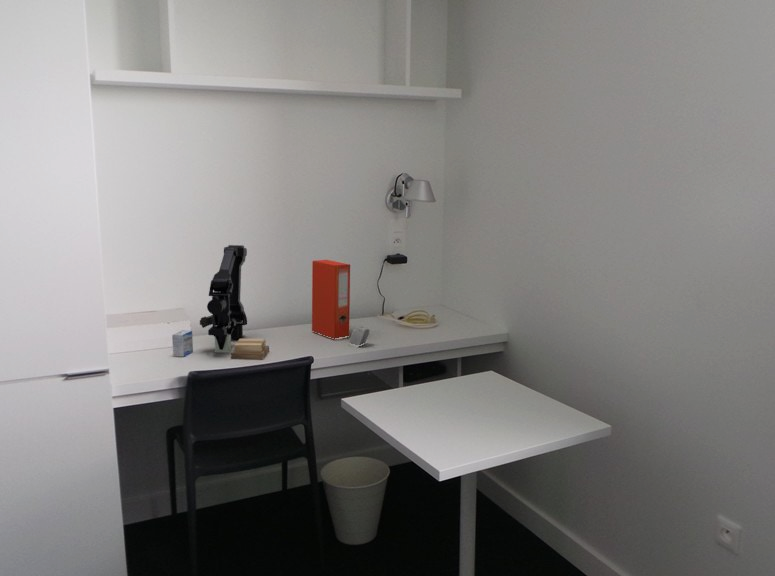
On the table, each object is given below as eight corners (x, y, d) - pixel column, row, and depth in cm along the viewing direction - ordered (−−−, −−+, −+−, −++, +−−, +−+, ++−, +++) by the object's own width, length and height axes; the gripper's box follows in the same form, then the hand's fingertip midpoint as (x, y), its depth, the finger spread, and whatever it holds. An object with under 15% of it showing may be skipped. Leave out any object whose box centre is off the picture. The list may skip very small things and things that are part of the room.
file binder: (327, 330, 309) (327, 259, 304) (349, 337, 296) (350, 264, 290) (311, 332, 304) (311, 260, 299) (334, 340, 291) (334, 265, 285)
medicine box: (183, 357, 262) (182, 335, 261) (172, 356, 263) (171, 334, 261) (193, 351, 270) (192, 330, 268) (182, 351, 271) (182, 329, 269)
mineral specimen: (365, 347, 278) (361, 328, 277) (348, 348, 283) (344, 329, 282) (375, 343, 284) (371, 324, 283) (358, 344, 289) (354, 325, 288)
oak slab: (240, 345, 271) (239, 338, 271) (265, 346, 271) (265, 338, 270) (234, 352, 261) (234, 344, 261) (260, 352, 261) (260, 345, 261)
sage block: (218, 349, 274) (218, 334, 273) (231, 349, 274) (230, 334, 273) (215, 352, 269) (214, 337, 268) (227, 352, 269) (227, 337, 268)
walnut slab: (238, 352, 273) (238, 345, 272) (269, 353, 272) (268, 345, 272) (231, 360, 261) (230, 353, 260) (262, 361, 260) (262, 353, 260)
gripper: (208, 303, 278) (209, 341, 281) (194, 313, 260) (195, 353, 263) (236, 304, 278) (236, 342, 281) (223, 314, 260) (224, 354, 262)
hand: (223, 347), depth 272 cm, fingers closed on sage block, 5 cm apart
